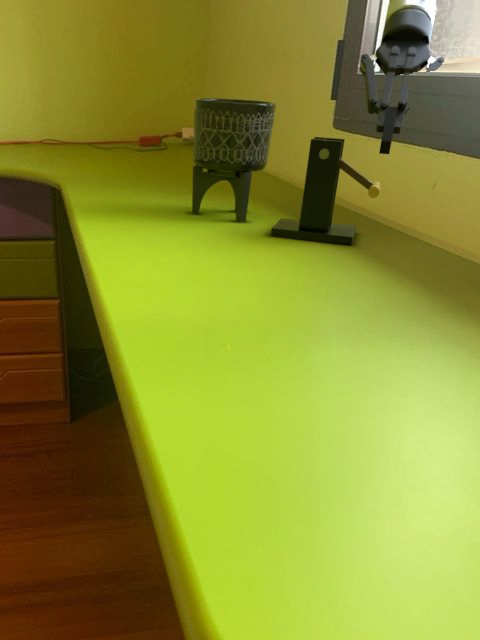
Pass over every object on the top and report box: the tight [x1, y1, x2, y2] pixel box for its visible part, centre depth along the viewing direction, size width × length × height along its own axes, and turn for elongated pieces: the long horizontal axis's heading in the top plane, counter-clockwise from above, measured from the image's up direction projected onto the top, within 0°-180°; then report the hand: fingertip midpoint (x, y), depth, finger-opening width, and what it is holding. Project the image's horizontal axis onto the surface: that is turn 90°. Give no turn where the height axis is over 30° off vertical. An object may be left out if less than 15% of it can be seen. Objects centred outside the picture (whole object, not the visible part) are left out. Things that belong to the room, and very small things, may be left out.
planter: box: [191, 97, 277, 223], centre depth 114 cm, size 13×13×18 cm
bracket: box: [270, 136, 357, 246], centre depth 104 cm, size 12×9×14 cm
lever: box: [324, 139, 382, 199], centre depth 101 cm, size 11×6×2 cm
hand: (385, 147), depth 104 cm, fingers closed
